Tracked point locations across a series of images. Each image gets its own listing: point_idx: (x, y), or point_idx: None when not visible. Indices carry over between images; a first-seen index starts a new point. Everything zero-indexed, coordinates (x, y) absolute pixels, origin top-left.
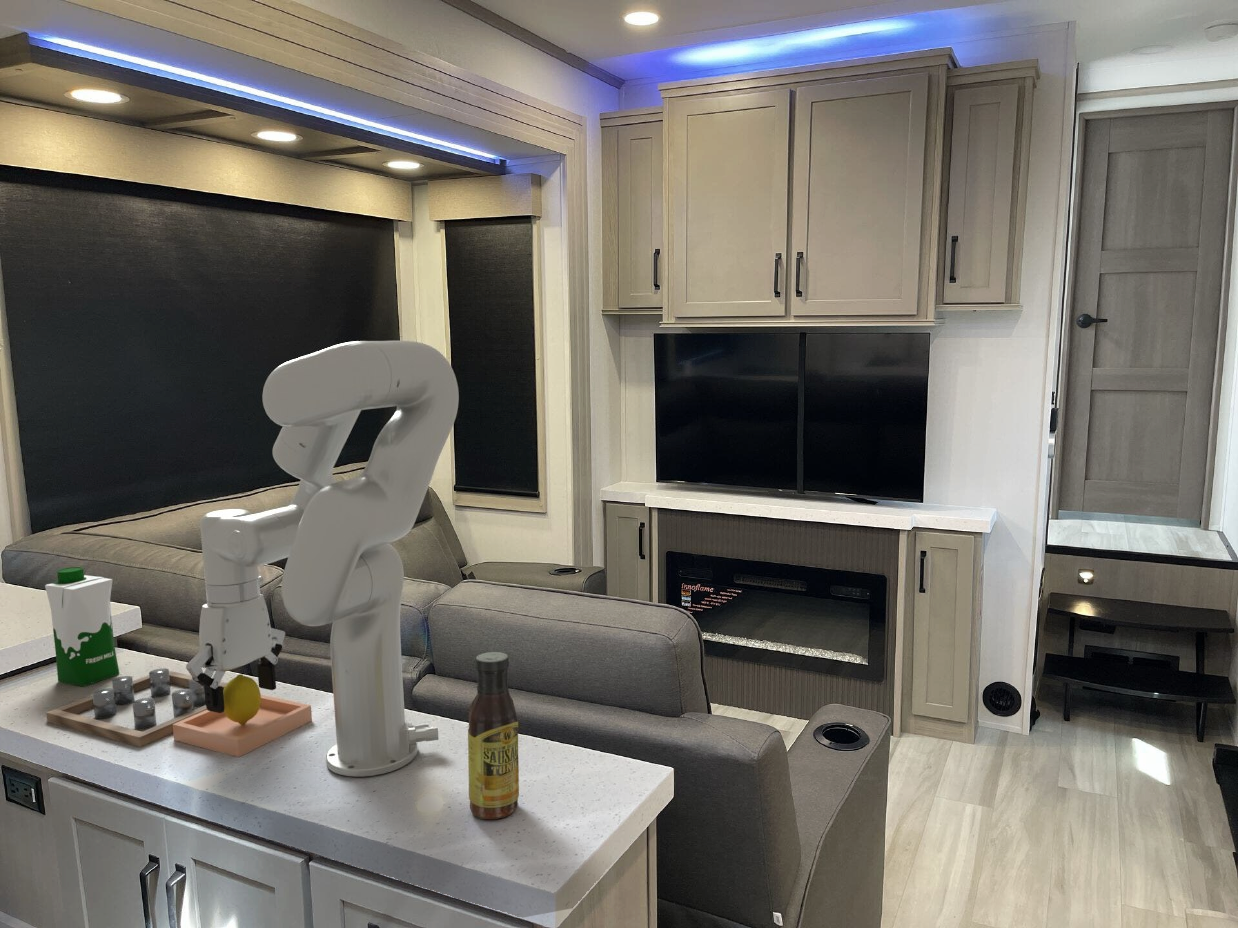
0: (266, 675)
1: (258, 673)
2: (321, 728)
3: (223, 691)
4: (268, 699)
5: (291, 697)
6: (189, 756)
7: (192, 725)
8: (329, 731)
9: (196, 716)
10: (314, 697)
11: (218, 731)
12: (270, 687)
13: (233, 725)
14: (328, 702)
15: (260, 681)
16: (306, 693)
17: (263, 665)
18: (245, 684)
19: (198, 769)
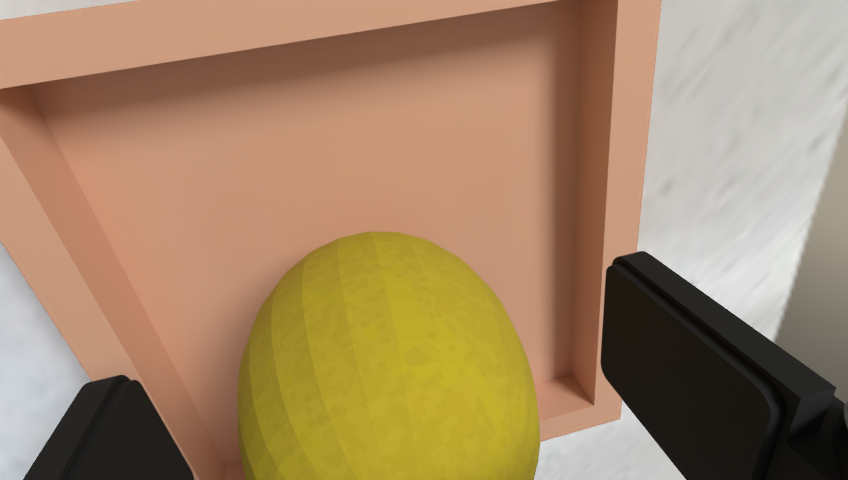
0: (672, 419)
1: (689, 342)
2: (543, 441)
3: (252, 434)
4: (606, 201)
5: (771, 53)
6: (17, 332)
7: (42, 207)
8: (537, 473)
9: (125, 56)
10: (788, 161)
11: (227, 255)
12: (610, 370)
13: (327, 243)
14: (747, 262)
15: (638, 307)
16: (830, 75)
17: (763, 463)
18: None
19: (23, 468)
